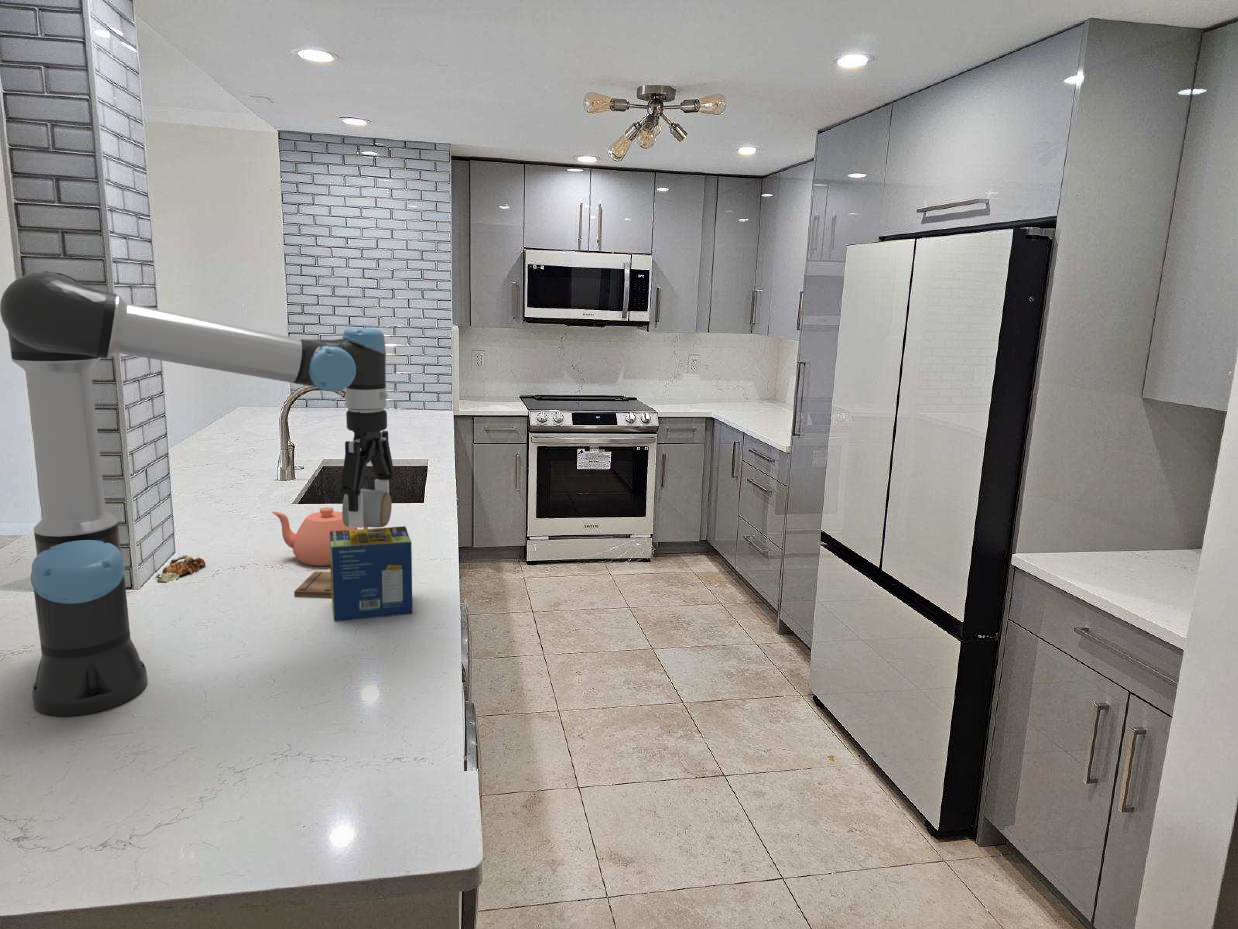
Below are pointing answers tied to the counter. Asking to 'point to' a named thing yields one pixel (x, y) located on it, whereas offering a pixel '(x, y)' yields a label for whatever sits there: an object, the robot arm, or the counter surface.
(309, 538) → the teapot
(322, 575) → the walnut board
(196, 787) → the counter surface
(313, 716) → the counter surface
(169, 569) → the grilled chicken meal
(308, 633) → the counter surface
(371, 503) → the ceramic mug
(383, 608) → the protein box
